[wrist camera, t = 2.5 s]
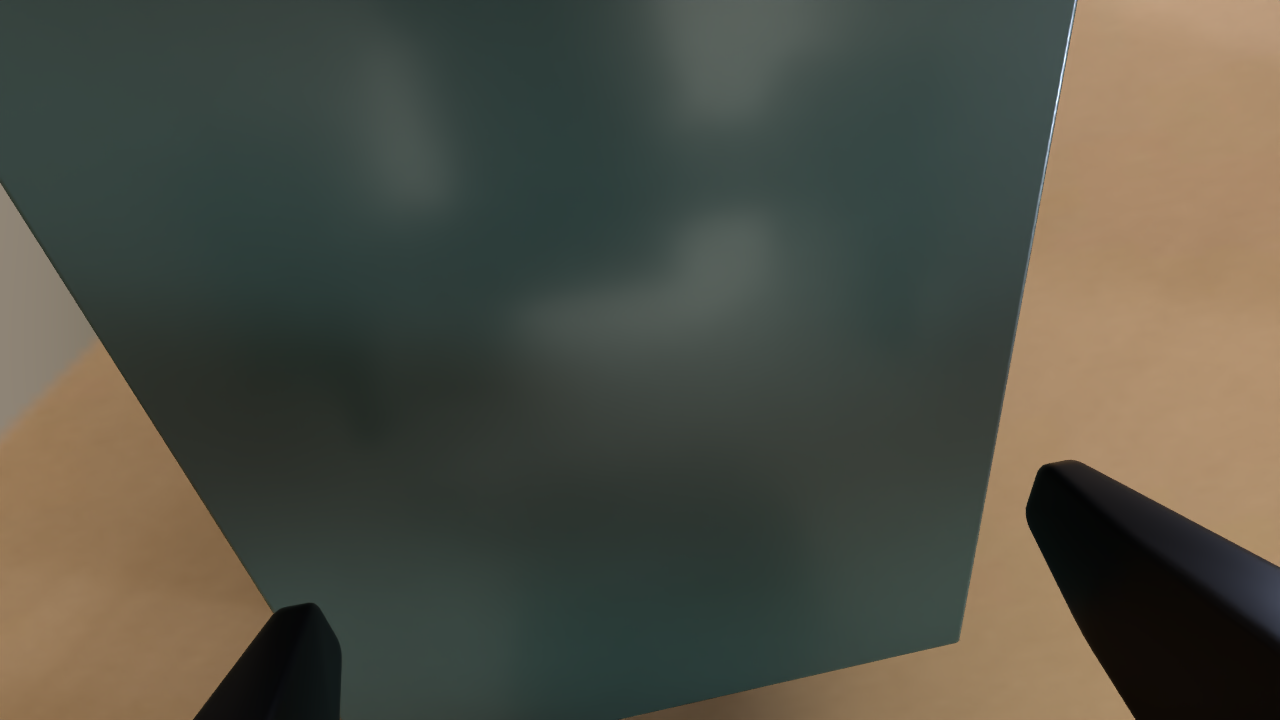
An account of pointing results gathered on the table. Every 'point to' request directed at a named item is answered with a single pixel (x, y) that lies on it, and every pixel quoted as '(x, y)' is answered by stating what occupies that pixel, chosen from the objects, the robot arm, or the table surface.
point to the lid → (558, 315)
